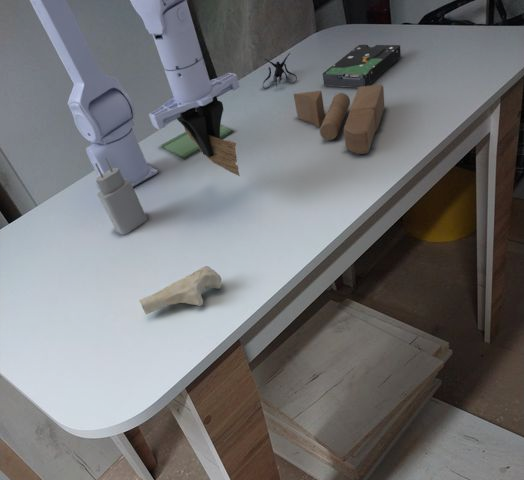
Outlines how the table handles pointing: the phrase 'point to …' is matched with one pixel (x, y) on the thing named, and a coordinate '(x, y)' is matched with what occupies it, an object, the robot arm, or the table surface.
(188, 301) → the bone fragment
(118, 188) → the power adapter
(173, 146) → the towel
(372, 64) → the disk drive
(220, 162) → the wood plank
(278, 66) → the creature
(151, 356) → the table surface
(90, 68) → the robot arm
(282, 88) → the table surface
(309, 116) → the wooden block set
